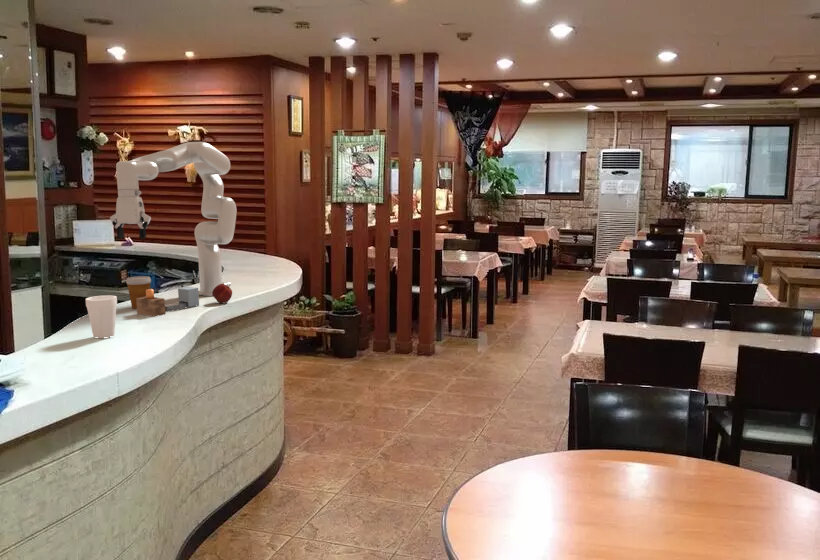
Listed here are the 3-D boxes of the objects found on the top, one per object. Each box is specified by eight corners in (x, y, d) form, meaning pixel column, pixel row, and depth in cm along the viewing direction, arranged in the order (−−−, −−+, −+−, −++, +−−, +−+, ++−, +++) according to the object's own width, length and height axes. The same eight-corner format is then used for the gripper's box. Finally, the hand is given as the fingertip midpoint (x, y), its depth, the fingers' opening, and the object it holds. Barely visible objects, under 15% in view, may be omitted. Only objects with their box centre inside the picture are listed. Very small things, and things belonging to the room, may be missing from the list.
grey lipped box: (188, 303, 299) (187, 286, 298) (199, 304, 296) (198, 287, 295) (178, 305, 295) (177, 288, 294) (189, 306, 291) (188, 289, 290)
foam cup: (100, 341, 236) (97, 301, 235) (82, 338, 241) (79, 298, 239) (125, 335, 244) (122, 296, 242) (107, 332, 249) (105, 294, 247)
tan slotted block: (148, 311, 285) (147, 296, 284) (165, 314, 280) (164, 298, 279) (137, 313, 281) (136, 298, 280) (154, 316, 276) (153, 300, 275)
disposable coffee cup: (157, 305, 298) (155, 275, 296) (146, 309, 289) (144, 279, 287) (134, 305, 299) (132, 275, 297) (123, 309, 290) (121, 279, 288)
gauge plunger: (151, 298, 282) (150, 288, 281) (155, 298, 280) (155, 289, 279) (144, 299, 279) (144, 290, 279) (149, 299, 278) (148, 290, 277)
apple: (227, 304, 298) (226, 285, 296) (209, 304, 299) (208, 284, 298) (235, 301, 305) (234, 282, 304) (217, 301, 306) (216, 282, 305)
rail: (191, 304, 299) (191, 299, 299) (198, 305, 297) (198, 300, 296) (160, 310, 286) (160, 305, 286) (167, 311, 284) (167, 306, 284)
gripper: (154, 193, 283) (157, 238, 286) (115, 193, 288) (118, 237, 290) (142, 194, 276) (145, 240, 279) (102, 194, 280) (106, 239, 283)
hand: (131, 238), depth 284 cm, fingers open, 9 cm apart
